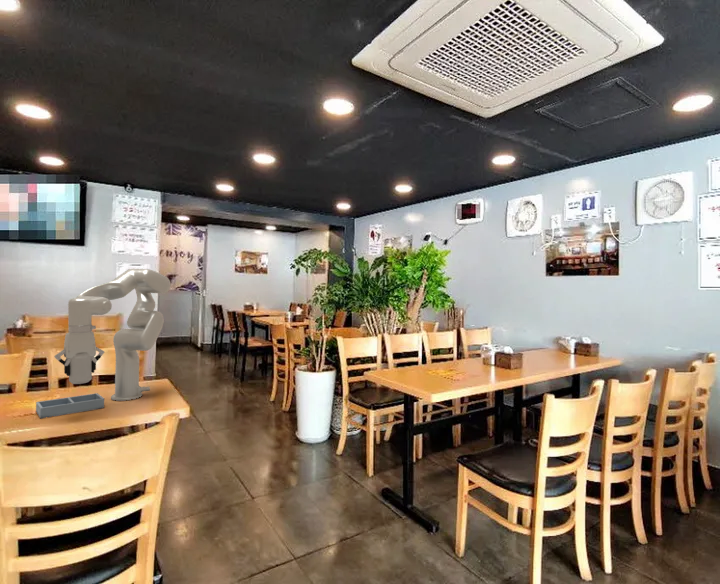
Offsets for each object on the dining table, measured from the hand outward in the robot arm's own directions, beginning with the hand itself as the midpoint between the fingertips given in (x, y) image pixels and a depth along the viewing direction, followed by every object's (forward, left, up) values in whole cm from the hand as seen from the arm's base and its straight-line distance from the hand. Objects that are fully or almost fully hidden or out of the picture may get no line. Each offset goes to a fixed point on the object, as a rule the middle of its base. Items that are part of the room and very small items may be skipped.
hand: (80, 373), depth 162 cm
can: (0, 0, -4) cm, 4 cm away
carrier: (+1, -11, -17) cm, 20 cm away
